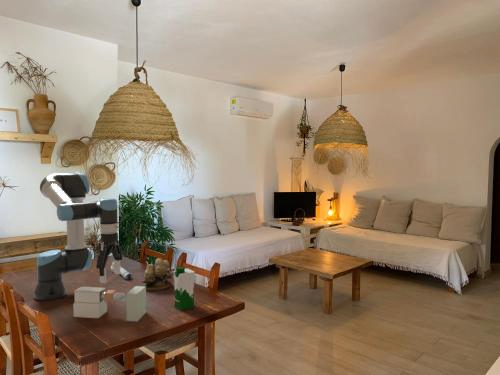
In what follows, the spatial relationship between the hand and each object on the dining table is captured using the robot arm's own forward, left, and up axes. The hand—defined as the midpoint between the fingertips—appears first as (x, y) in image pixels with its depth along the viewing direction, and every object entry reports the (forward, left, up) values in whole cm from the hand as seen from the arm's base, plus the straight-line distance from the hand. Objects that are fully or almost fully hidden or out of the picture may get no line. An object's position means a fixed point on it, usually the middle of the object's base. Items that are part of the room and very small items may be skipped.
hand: (110, 278), depth 175 cm
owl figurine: (+8, +40, -18) cm, 45 cm away
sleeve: (-10, 0, -18) cm, 20 cm away
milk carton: (+31, +14, -18) cm, 38 cm away
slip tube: (-3, 0, -11) cm, 11 cm away
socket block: (+12, 0, -18) cm, 21 cm away
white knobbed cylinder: (-24, +60, -18) cm, 67 cm away
